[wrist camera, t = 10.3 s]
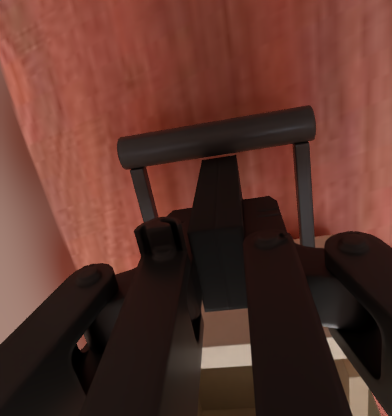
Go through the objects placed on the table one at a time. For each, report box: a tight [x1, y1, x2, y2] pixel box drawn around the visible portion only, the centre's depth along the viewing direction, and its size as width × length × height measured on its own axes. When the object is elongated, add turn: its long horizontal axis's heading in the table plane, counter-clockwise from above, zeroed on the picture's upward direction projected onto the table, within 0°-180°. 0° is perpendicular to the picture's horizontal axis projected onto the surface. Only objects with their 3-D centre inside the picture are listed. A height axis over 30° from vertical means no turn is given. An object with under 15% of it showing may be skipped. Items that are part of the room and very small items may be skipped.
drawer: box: [117, 105, 368, 416], centre depth 19 cm, size 22×11×8 cm, turn 10°
